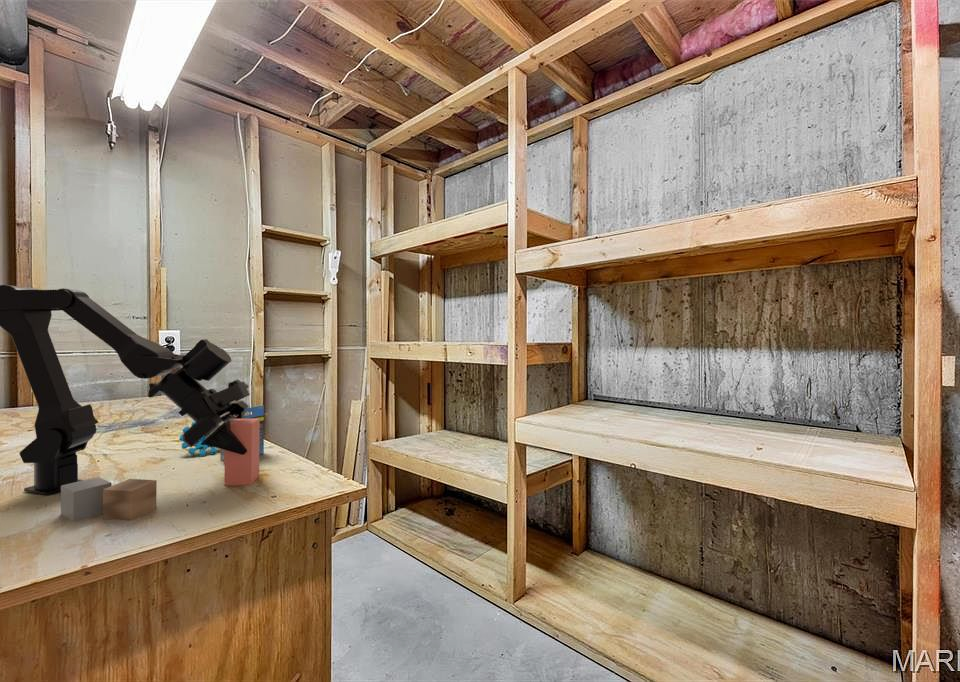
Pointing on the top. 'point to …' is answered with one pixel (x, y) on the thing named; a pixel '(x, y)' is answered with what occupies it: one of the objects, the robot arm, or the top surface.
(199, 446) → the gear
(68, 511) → the gray cube
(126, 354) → the robot arm
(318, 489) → the top surface
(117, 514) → the walnut cube
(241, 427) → the red block
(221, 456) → the label tape cartridge
